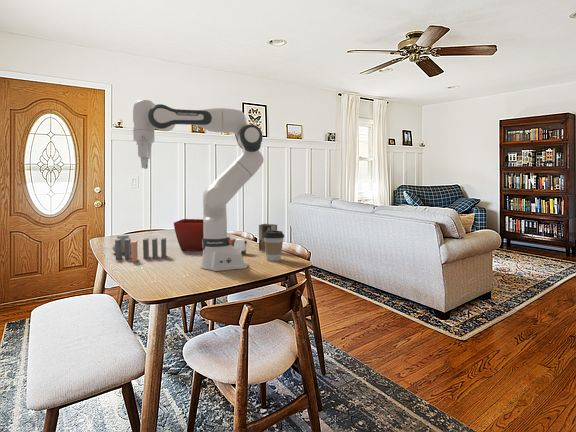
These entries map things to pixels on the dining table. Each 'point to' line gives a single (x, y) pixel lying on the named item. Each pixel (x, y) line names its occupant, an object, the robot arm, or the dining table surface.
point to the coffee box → (262, 231)
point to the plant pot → (189, 233)
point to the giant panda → (239, 245)
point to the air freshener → (122, 242)
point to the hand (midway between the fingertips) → (144, 168)
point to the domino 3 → (134, 251)
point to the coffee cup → (273, 244)
